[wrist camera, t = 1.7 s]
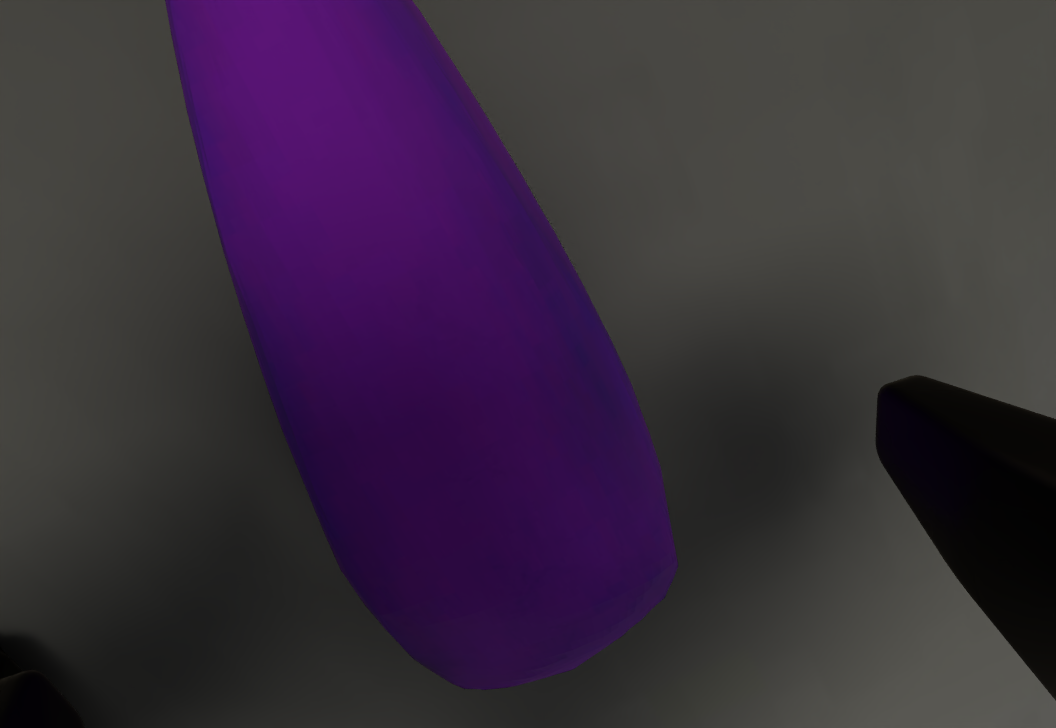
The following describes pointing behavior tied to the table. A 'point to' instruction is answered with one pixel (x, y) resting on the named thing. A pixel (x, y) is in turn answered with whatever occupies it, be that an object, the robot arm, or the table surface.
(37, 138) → the table surface
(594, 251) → the table surface
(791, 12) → the table surface
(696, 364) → the table surface
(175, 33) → the purple long tapered piece
